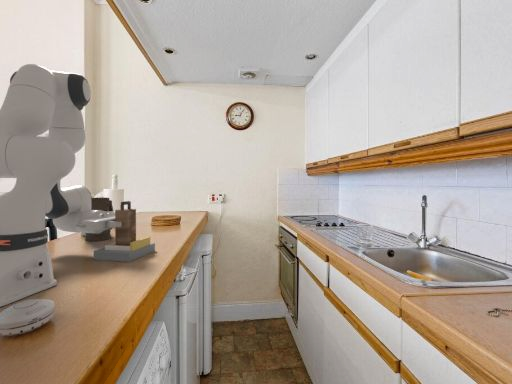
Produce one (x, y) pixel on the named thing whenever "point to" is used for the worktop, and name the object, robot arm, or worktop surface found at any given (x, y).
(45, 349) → the worktop surface
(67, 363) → the worktop surface
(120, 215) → the brown handled block
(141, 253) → the dock
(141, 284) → the worktop surface
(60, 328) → the worktop surface
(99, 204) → the beer stein
